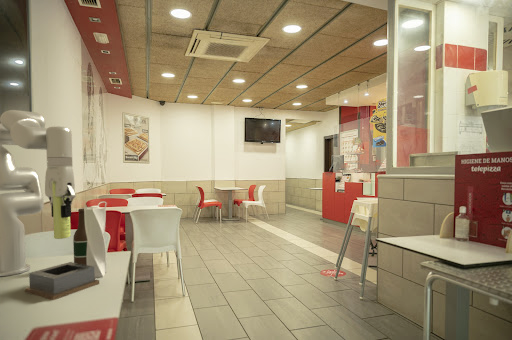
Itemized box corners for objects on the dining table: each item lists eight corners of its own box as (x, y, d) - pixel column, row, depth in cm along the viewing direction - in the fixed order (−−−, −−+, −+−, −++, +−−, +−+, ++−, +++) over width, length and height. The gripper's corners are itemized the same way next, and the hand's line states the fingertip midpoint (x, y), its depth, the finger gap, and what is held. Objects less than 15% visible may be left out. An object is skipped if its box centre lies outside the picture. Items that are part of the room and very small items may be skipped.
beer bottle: (75, 264, 142) (73, 208, 141) (95, 262, 145) (93, 207, 144) (73, 269, 134) (71, 210, 134) (94, 266, 138) (92, 209, 137)
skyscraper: (110, 271, 131) (108, 200, 130) (106, 277, 123) (104, 202, 123) (88, 273, 129) (86, 201, 128) (83, 279, 121) (81, 203, 121)
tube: (71, 238, 112) (69, 180, 112) (54, 240, 109) (52, 181, 109) (70, 235, 117) (68, 180, 117) (53, 237, 114) (51, 180, 114)
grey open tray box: (24, 292, 110) (24, 273, 110) (71, 277, 124) (71, 260, 124) (53, 300, 102) (52, 280, 102) (99, 283, 117) (98, 266, 116)
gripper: (34, 164, 114) (35, 217, 114) (63, 162, 106) (65, 219, 106) (56, 164, 120) (57, 214, 120) (85, 162, 112) (87, 216, 112)
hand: (61, 216), depth 113 cm, fingers closed on tube, 4 cm apart
